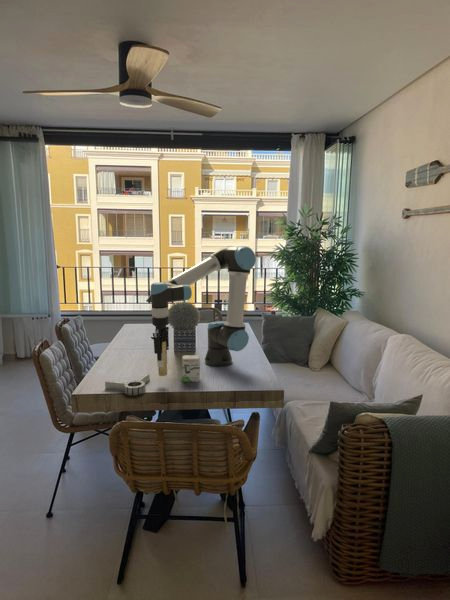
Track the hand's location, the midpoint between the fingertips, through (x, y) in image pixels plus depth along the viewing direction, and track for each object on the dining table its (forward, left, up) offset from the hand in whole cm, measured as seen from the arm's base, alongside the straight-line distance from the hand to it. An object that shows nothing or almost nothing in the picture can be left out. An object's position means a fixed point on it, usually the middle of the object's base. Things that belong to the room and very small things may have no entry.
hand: (162, 365), depth 183 cm
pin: (0, 0, -5) cm, 5 cm away
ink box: (-11, -10, -10) cm, 18 cm away
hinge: (+14, +5, -10) cm, 18 cm away
